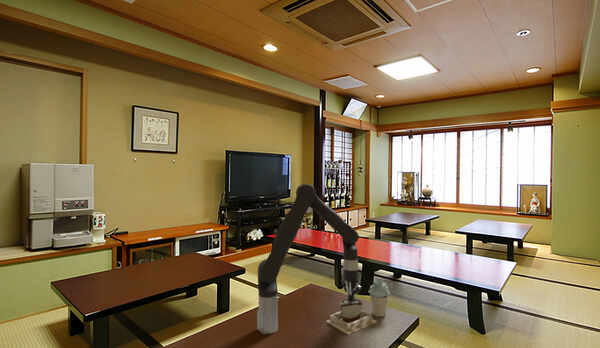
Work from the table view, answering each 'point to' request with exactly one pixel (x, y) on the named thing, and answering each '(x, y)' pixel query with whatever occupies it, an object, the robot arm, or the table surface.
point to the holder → (351, 327)
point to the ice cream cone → (379, 297)
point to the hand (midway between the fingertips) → (351, 301)
